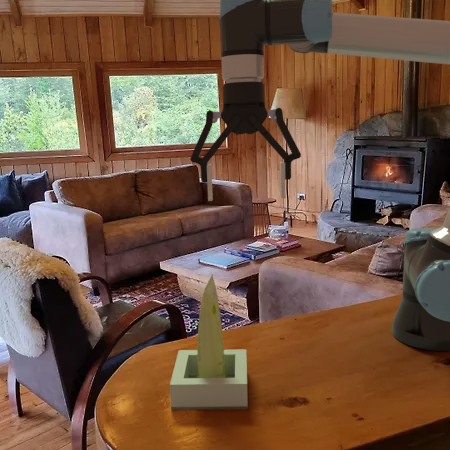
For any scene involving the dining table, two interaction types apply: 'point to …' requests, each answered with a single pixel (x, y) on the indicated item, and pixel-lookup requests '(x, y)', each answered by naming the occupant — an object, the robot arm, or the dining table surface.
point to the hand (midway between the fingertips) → (246, 198)
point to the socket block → (209, 383)
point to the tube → (210, 336)
